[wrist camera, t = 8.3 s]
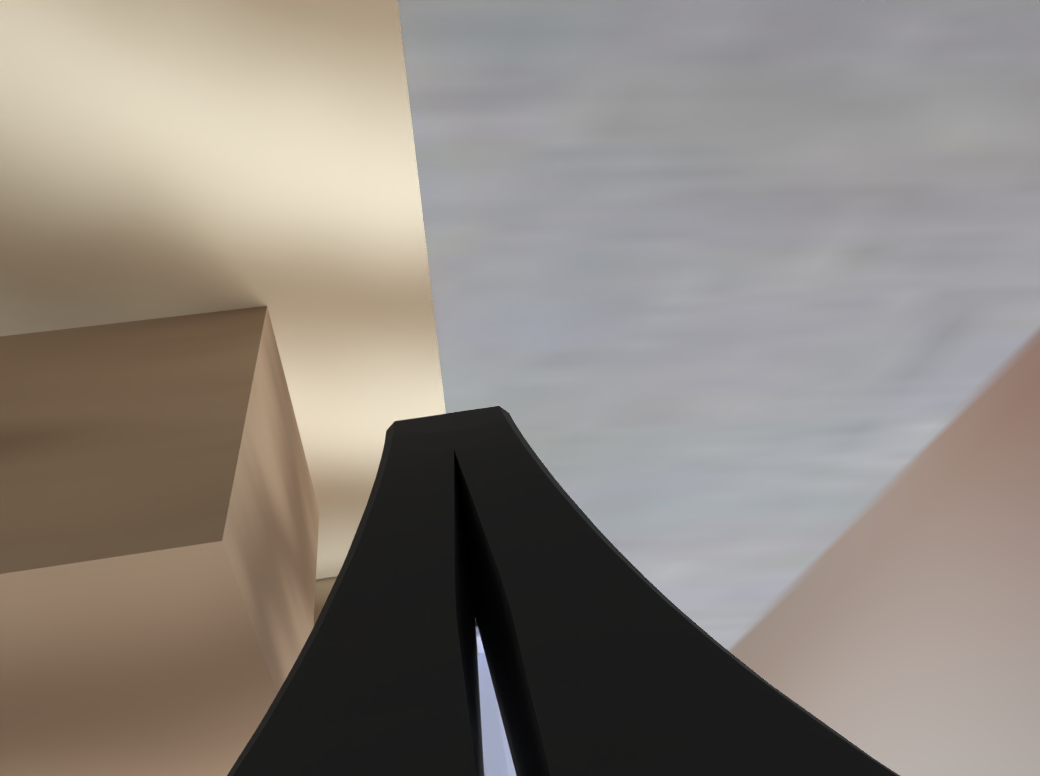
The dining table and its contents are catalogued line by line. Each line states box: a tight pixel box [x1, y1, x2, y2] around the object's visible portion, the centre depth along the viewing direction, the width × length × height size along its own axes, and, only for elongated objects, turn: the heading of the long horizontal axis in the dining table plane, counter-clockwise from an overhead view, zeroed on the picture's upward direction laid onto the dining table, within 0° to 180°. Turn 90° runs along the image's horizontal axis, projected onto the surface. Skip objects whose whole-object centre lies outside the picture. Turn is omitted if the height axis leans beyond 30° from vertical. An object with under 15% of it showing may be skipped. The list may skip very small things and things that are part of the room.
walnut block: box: [0, 306, 319, 776], centre depth 15 cm, size 6×6×7 cm
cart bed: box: [0, 0, 478, 655], centre depth 14 cm, size 21×15×6 cm
